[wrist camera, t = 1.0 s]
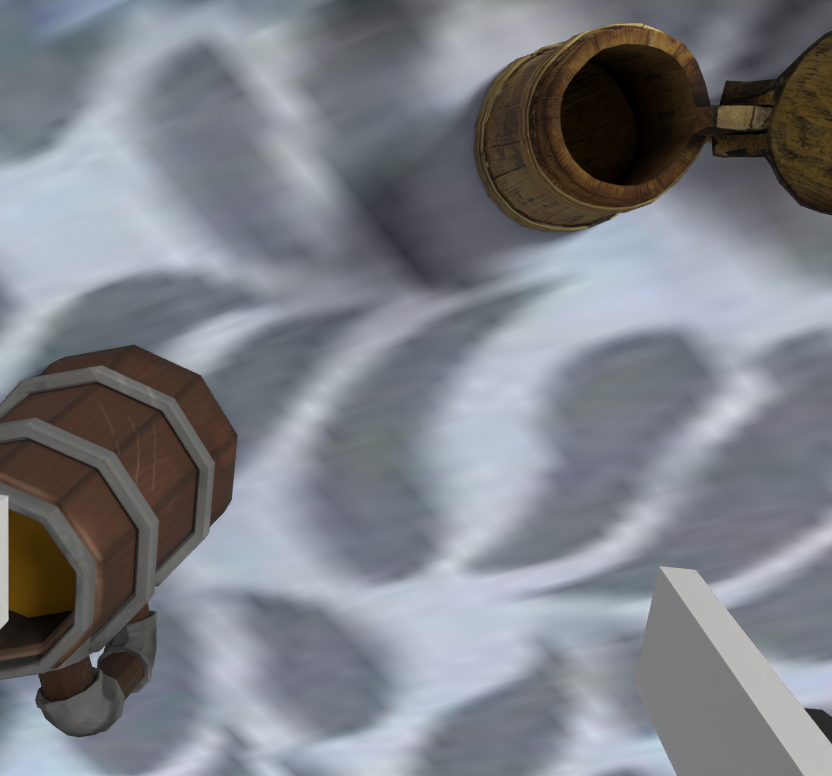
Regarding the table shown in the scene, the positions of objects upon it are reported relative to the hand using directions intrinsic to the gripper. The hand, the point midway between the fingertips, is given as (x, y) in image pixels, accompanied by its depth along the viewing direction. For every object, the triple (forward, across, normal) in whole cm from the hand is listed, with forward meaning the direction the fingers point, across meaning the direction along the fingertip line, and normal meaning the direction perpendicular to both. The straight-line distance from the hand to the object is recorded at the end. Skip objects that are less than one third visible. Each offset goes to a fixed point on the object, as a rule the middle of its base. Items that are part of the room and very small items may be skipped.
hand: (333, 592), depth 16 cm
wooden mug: (+26, +10, +12) cm, 30 cm away
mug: (+26, -12, -9) cm, 30 cm away
